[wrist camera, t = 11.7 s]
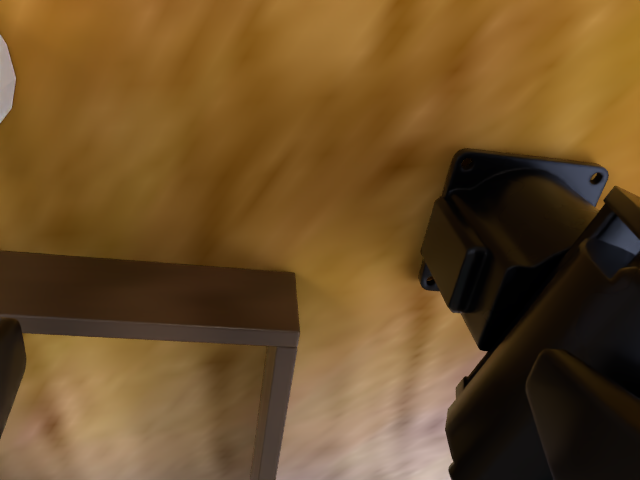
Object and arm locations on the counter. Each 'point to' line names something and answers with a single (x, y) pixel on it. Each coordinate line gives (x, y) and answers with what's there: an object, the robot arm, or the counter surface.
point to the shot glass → (6, 80)
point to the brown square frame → (166, 316)
